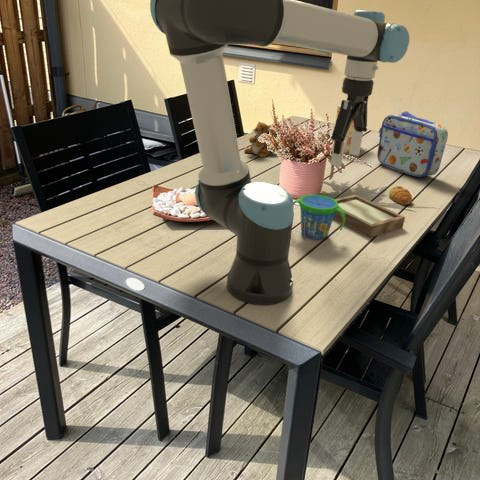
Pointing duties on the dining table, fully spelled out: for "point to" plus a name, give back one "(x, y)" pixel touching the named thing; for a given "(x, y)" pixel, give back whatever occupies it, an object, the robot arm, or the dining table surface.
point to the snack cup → (318, 215)
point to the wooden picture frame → (368, 216)
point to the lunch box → (411, 144)
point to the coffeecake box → (349, 134)
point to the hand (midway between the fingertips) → (345, 159)
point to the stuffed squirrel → (256, 145)
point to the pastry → (400, 195)
